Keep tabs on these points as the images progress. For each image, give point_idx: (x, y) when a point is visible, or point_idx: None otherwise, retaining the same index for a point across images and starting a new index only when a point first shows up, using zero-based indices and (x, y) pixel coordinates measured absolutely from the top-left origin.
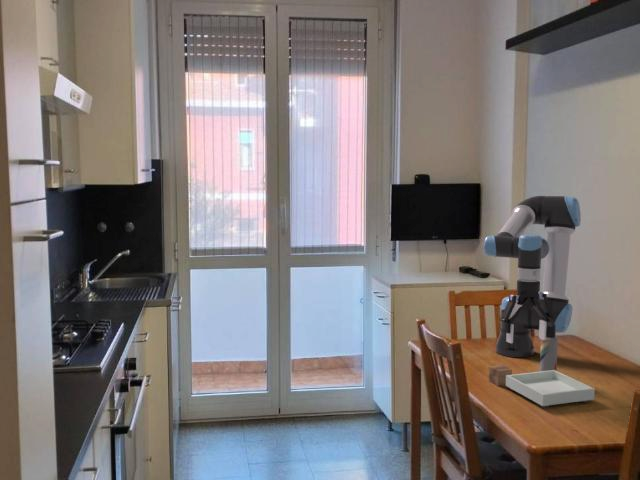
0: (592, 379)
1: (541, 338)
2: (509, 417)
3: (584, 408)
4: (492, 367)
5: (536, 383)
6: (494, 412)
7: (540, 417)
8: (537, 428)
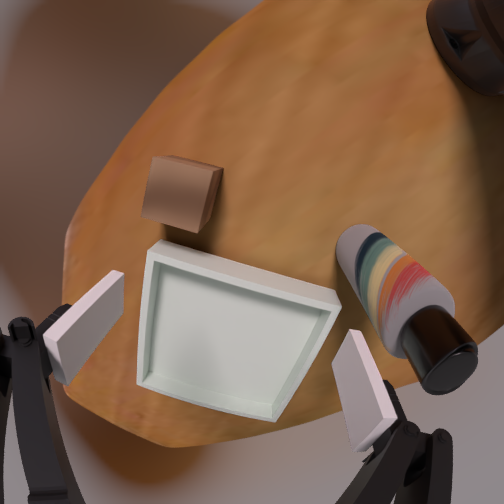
0: None
1: (340, 350)
2: None
3: None
4: (153, 173)
5: (236, 299)
6: None
7: (122, 373)
8: (94, 383)
